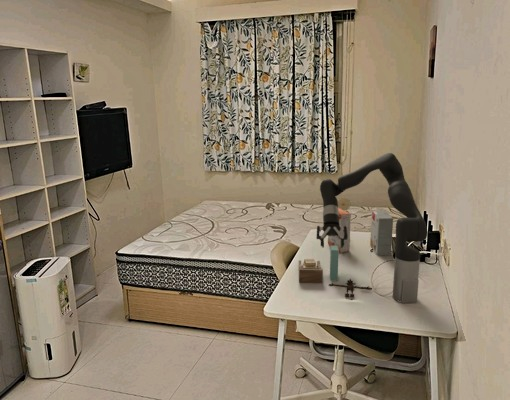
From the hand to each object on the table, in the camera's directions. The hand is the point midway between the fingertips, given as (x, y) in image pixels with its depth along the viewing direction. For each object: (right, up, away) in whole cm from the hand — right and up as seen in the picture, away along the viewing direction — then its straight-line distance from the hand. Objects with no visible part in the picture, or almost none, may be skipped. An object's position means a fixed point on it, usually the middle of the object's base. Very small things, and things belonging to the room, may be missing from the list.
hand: (332, 247), depth 197 cm
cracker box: (+9, -4, +33) cm, 34 cm away
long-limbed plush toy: (+4, -17, -20) cm, 26 cm away
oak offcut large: (-10, -11, +1) cm, 15 cm away
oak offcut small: (-10, -8, +1) cm, 13 cm away
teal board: (-1, -14, -8) cm, 16 cm away
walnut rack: (-11, -13, -3) cm, 17 cm away
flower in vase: (+13, -1, +47) cm, 49 cm away
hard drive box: (+31, -5, +29) cm, 42 cm away
